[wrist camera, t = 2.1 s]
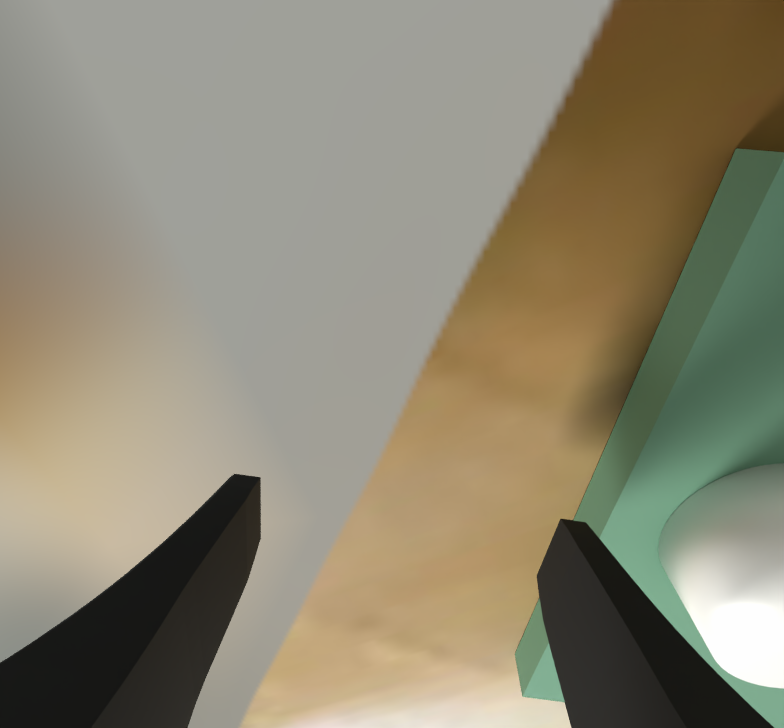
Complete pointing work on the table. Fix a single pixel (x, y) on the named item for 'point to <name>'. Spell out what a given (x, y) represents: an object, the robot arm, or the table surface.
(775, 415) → the mat
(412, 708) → the table surface
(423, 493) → the table surface
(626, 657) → the robot arm
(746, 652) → the white smooth pebble
